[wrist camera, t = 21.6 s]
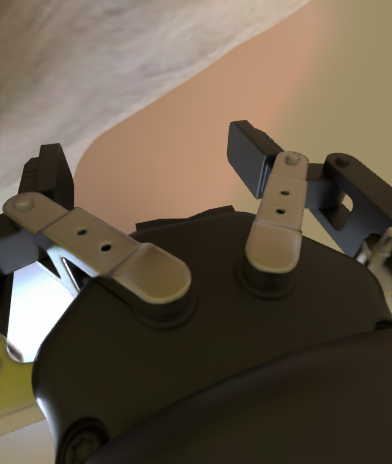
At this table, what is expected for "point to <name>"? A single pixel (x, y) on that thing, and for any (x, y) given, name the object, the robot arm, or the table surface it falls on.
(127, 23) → the table surface
